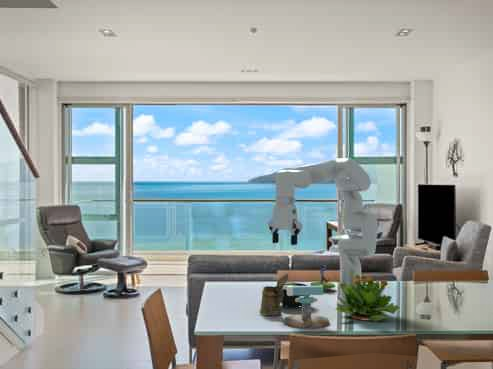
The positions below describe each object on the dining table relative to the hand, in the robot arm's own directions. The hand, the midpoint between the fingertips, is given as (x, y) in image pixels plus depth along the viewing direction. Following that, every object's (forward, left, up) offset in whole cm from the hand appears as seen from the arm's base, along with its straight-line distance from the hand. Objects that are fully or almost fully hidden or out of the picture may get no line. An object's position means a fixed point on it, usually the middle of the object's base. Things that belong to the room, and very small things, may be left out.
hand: (284, 243), depth 242 cm
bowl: (-7, -27, -31) cm, 42 cm away
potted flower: (-32, -3, -31) cm, 45 cm away
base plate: (-8, +4, -31) cm, 32 cm away
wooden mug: (+3, -11, -31) cm, 33 cm away
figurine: (-28, -63, -31) cm, 76 cm away
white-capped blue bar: (-8, +4, -23) cm, 24 cm away
